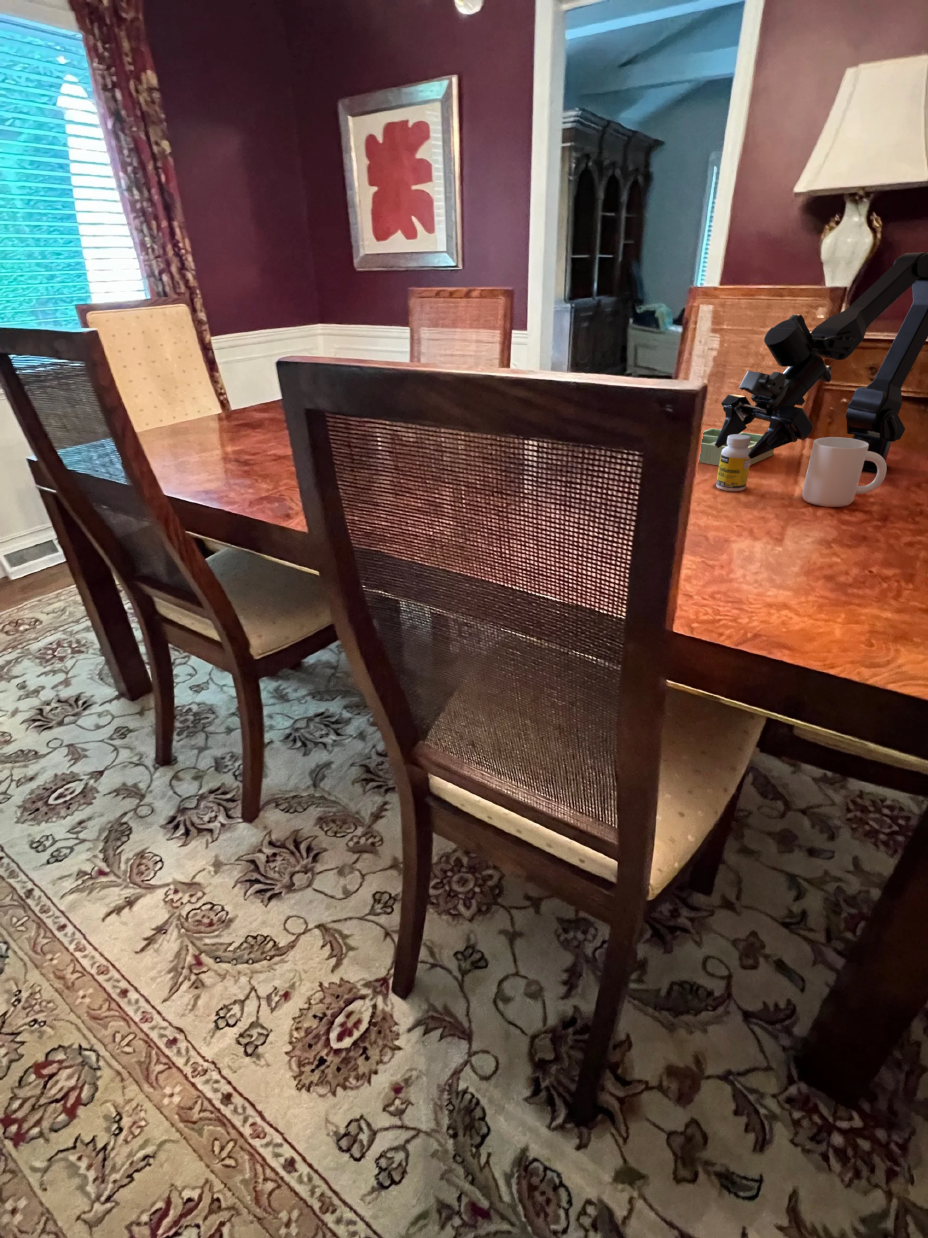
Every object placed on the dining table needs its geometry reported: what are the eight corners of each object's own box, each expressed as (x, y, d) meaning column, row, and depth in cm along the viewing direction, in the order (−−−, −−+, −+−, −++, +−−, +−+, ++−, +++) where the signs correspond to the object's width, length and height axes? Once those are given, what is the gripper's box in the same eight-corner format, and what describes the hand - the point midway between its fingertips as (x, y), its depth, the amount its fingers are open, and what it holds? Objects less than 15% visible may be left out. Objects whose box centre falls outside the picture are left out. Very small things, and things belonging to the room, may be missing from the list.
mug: (874, 497, 111) (890, 439, 106) (880, 511, 105) (898, 450, 100) (799, 491, 116) (812, 435, 111) (801, 505, 109) (815, 446, 104)
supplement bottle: (710, 488, 120) (718, 436, 115) (724, 482, 123) (733, 431, 118) (736, 493, 116) (745, 441, 112) (751, 487, 119) (760, 435, 115)
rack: (772, 454, 139) (776, 436, 137) (741, 469, 130) (744, 449, 128) (708, 445, 149) (711, 427, 147) (675, 458, 140) (677, 439, 139)
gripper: (737, 349, 117) (680, 414, 120) (815, 357, 102) (747, 433, 104) (764, 389, 123) (708, 451, 126) (840, 403, 107) (775, 473, 110)
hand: (732, 451), depth 116 cm, fingers open, 9 cm apart
